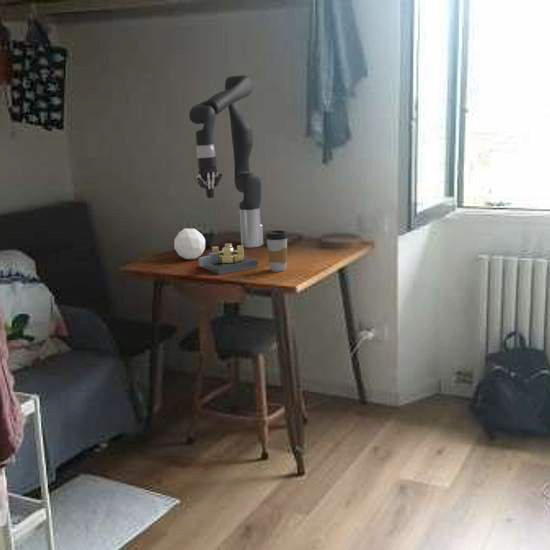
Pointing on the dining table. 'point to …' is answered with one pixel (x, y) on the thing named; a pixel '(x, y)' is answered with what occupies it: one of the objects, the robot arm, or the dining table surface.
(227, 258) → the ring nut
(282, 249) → the coffee cup
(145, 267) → the dining table surface
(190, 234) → the geodesic sphere
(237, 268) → the housing
